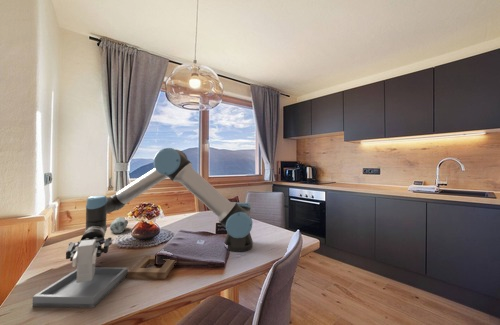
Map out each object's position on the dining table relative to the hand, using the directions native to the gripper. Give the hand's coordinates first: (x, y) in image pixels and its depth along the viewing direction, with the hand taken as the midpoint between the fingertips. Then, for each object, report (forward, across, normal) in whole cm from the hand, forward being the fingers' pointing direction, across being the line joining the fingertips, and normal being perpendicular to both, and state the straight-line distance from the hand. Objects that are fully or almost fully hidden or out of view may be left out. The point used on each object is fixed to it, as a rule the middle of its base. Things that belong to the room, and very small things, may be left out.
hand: (84, 261), depth 68 cm
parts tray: (-5, 0, -12) cm, 13 cm away
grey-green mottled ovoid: (-70, -8, -12) cm, 71 cm away
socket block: (-9, -22, -12) cm, 26 cm away
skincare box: (-5, 0, -8) cm, 10 cm away
